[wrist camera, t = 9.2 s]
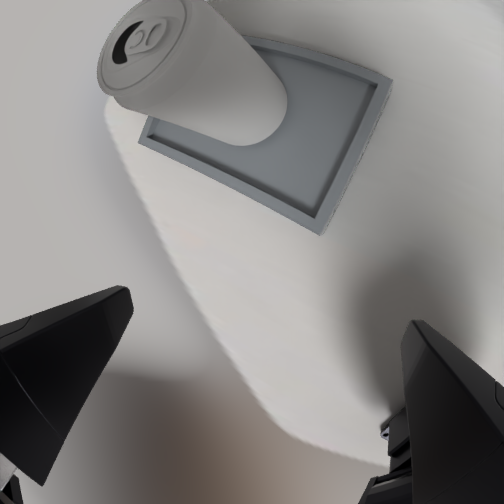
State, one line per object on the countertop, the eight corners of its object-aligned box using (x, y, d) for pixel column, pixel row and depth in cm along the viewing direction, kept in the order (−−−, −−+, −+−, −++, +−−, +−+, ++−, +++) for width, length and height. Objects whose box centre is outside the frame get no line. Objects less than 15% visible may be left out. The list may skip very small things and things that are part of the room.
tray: (391, 88, 16) (393, 80, 14) (323, 233, 20) (319, 235, 18) (200, 36, 21) (191, 29, 19) (149, 145, 25) (137, 142, 23)
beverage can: (224, 71, 20) (117, 2, 9) (299, 76, 18) (218, -29, 7) (204, 141, 21) (76, 107, 10) (279, 155, 19) (167, 102, 8)
